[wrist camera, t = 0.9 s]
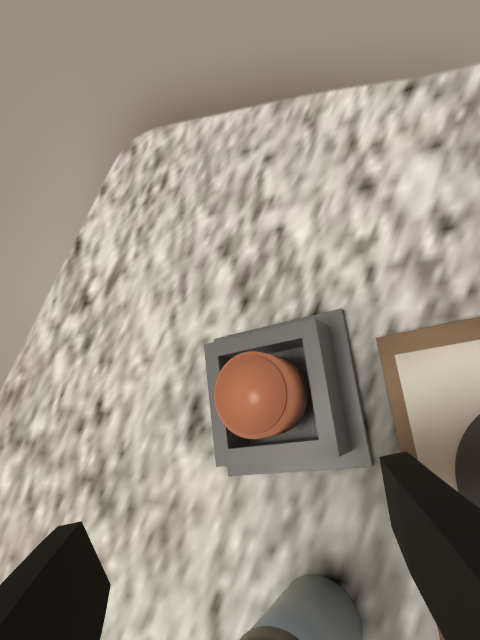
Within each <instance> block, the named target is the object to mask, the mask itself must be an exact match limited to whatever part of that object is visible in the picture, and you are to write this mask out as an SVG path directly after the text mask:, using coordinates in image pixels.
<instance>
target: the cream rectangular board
mask: <svg viewBox="0 0 480 640" xmlns="http://www.w3.org/2000/svg"><path fill="white" fill-rule="evenodd" d="M376 341H377V346H378V350H379V355H380V360H381V364H382V369H383V374H384V378H385V383H386V388H387V392H388V397H389V402H390V407H391V411H392V416H393V421H394V425H395V430H396V435H397V439H398V444H399V449H400V453H401V452H408V453H409V454H411V455H412V456H414V457H415V458H416V459H417V460H418V461H420V462H421V463H422V464H423V465H425V466H426V467H427V468H428V469H430V470H431V471H432V472H433V473H435V474H436V475H437V476H438V477H440V478H441V479H442V480H443V481H445V482H446V483H447V484H449V485H450V486H451V487H453V488H454V489H455V490H456V491H458V492H459V493H460V494H462V495H463V496H464V497H466V498H467V499H468V500H470V501H471V502H473V503H474V504H475V505H477V506H478V507H480V317H478V318H473V319H469V320H464V321H459V322H454V323H449V324H444V325H439V326H434V327H429V328H424V329H419V330H414V331H409V332H404V333H399V334H394V335H389V336H384V337H379V338H376ZM438 631H439V636H440V640H445V639H444V637H443V635H442V633H441V631H440V629H439V628H438Z"/></svg>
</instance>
